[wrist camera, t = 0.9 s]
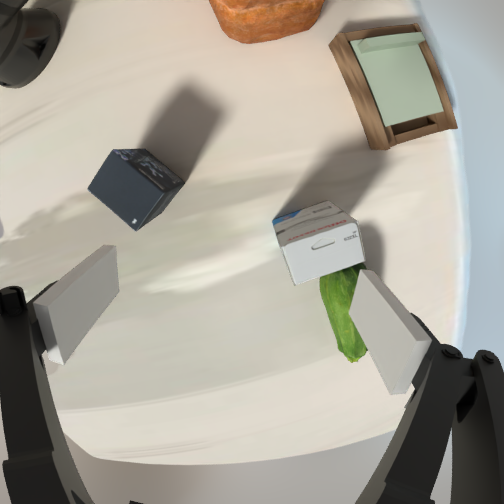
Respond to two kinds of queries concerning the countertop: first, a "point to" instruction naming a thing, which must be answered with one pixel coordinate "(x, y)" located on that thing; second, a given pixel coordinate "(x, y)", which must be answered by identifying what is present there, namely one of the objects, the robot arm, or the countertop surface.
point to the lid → (397, 77)
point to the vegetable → (343, 309)
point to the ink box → (318, 241)
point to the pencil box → (365, 104)
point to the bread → (265, 18)
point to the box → (135, 186)
